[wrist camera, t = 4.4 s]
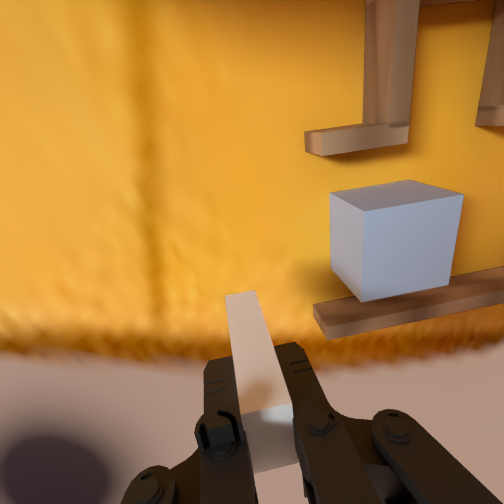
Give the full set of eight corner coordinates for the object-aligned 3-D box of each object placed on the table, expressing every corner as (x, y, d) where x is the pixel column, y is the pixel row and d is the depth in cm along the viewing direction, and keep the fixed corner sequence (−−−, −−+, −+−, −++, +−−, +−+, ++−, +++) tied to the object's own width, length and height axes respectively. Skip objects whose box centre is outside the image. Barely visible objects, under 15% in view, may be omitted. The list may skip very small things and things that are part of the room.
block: (330, 267, 23) (361, 302, 19) (328, 192, 21) (364, 211, 16) (401, 254, 24) (448, 284, 19) (408, 179, 21) (464, 194, 17)
